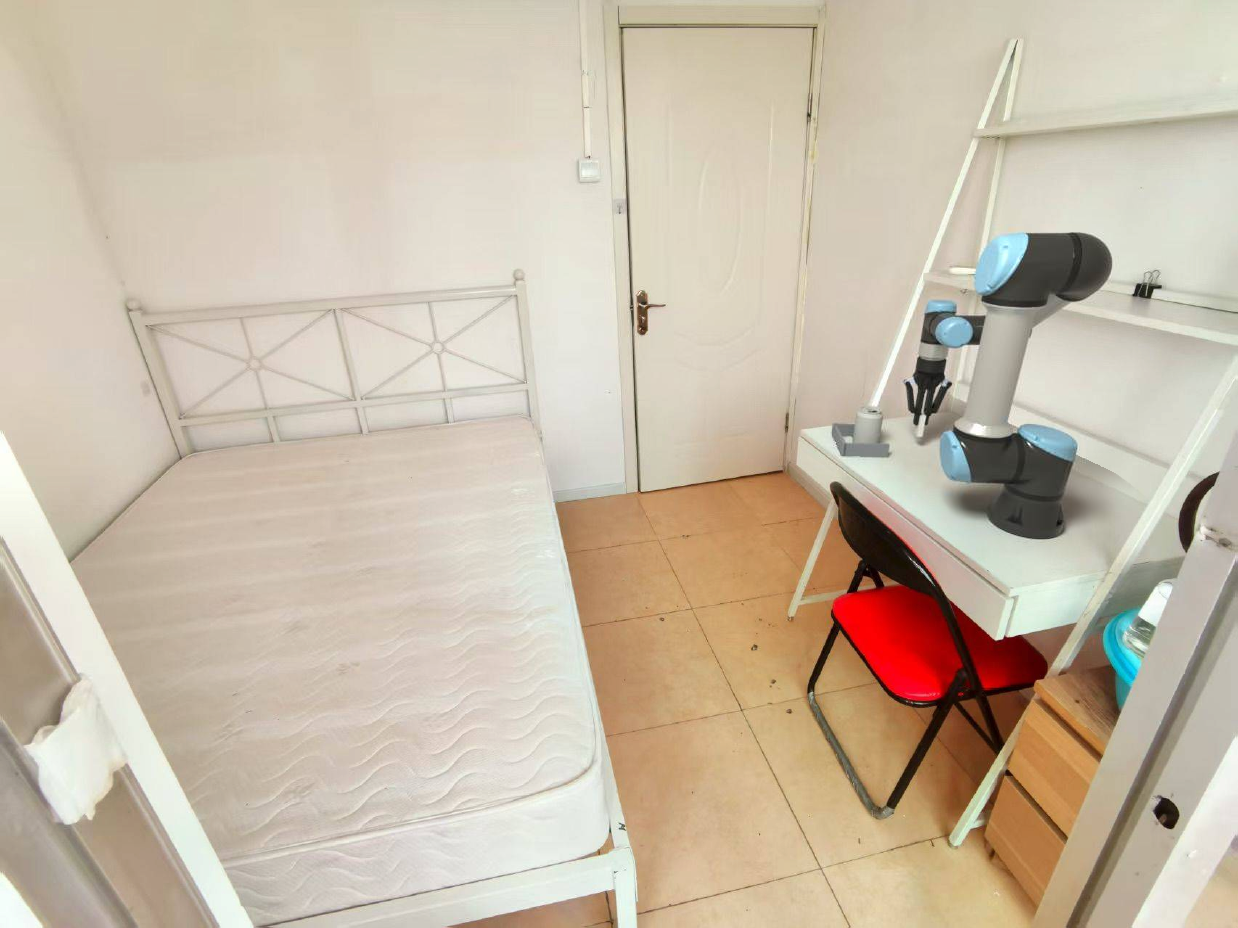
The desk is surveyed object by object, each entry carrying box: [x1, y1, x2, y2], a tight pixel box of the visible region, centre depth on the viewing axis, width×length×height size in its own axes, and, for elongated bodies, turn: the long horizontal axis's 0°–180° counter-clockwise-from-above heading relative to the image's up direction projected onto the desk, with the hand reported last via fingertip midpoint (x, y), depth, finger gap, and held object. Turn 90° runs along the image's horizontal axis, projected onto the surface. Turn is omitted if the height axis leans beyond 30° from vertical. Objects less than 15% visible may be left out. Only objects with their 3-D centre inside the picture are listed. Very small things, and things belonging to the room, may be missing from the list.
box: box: [831, 423, 891, 458], centre depth 190 cm, size 16×13×4 cm
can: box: [851, 404, 884, 443], centre depth 188 cm, size 8×8×12 cm
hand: (918, 435), depth 186 cm, fingers closed
